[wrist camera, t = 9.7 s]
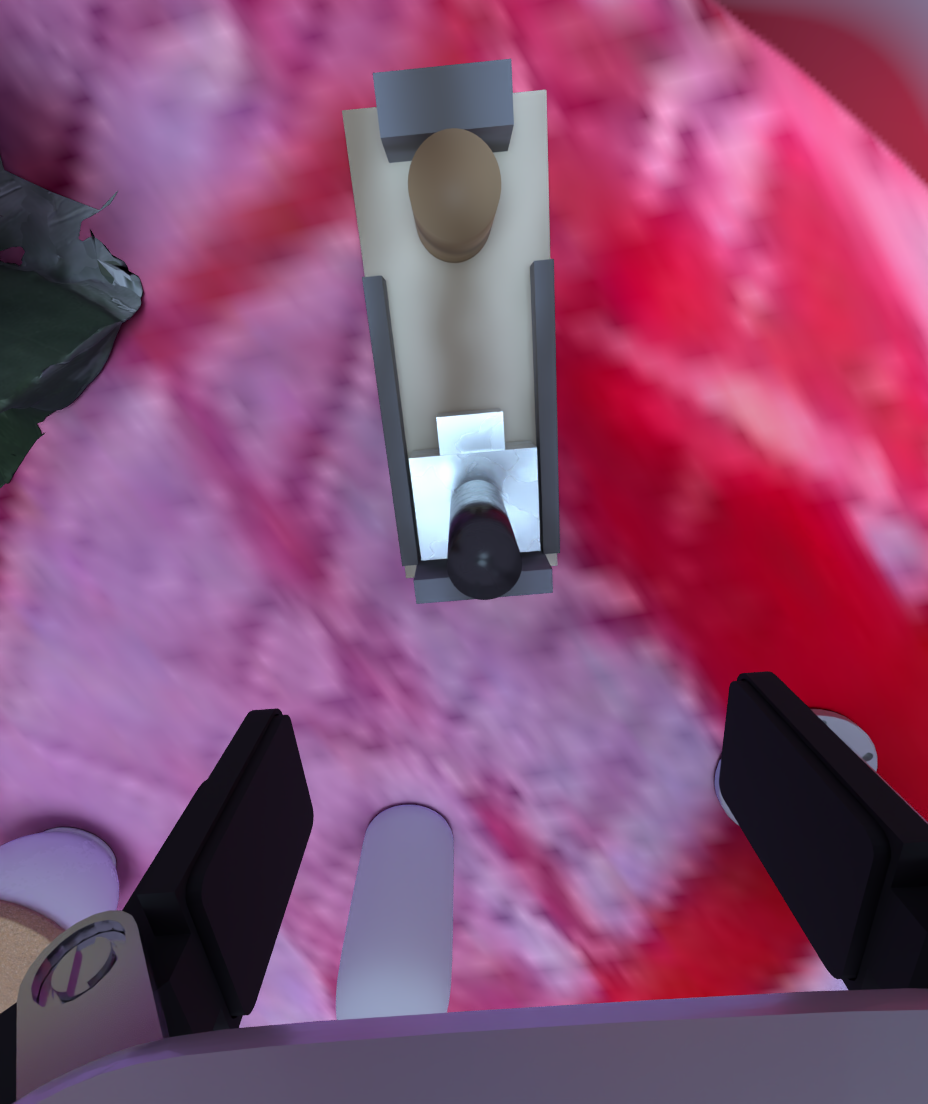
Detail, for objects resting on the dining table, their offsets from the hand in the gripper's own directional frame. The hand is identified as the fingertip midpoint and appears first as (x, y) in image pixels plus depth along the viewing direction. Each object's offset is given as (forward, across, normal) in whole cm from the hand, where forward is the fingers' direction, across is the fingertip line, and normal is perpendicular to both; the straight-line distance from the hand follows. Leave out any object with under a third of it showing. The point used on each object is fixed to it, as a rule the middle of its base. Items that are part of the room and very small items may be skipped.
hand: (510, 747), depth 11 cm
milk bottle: (+24, +8, +30) cm, 40 cm away
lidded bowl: (+24, +38, +30) cm, 54 cm away
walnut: (+22, 0, -15) cm, 27 cm away
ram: (+22, 0, -1) cm, 22 cm away
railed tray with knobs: (+24, 0, -7) cm, 25 cm away
